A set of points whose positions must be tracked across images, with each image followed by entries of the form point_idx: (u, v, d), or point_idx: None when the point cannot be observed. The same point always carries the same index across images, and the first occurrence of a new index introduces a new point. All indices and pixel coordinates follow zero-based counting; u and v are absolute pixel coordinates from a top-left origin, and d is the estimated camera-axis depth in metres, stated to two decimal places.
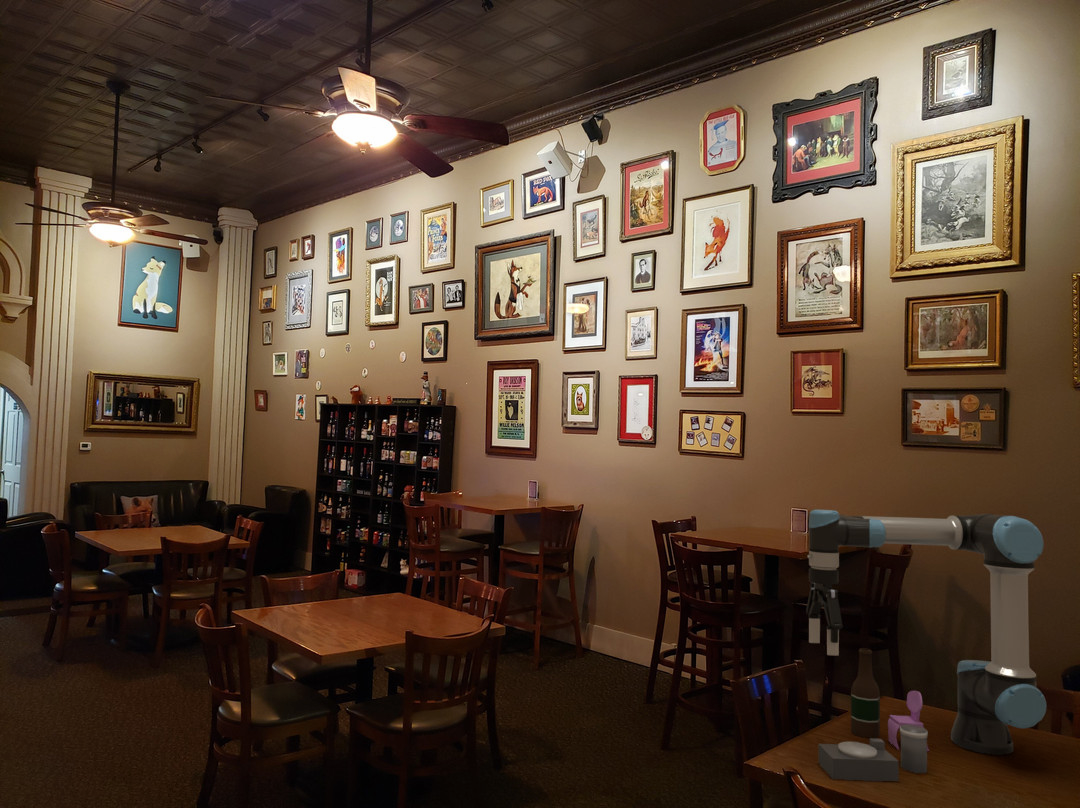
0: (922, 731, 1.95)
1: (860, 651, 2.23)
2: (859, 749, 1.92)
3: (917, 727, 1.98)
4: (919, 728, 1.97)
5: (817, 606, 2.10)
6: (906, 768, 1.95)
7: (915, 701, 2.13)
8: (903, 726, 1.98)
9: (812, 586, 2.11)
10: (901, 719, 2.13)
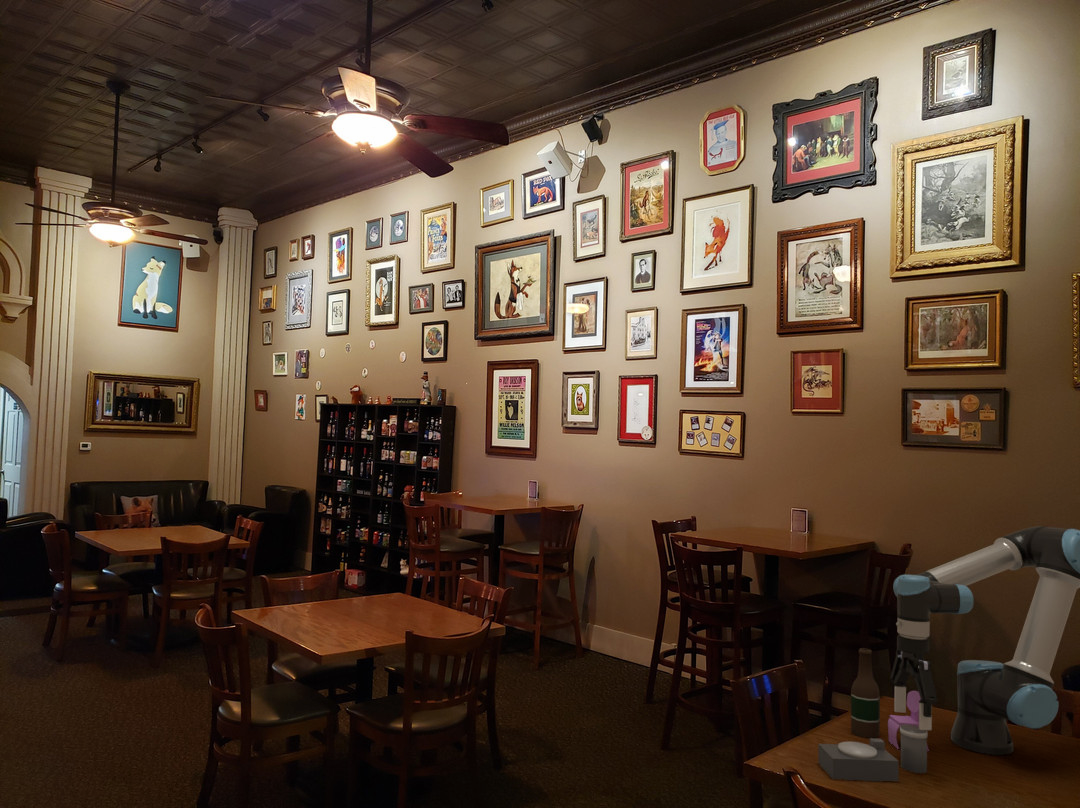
0: (922, 731, 1.95)
1: (860, 651, 2.23)
2: (859, 749, 1.92)
3: (917, 727, 1.98)
4: None
5: (904, 675, 2.02)
6: (906, 768, 1.95)
7: (915, 701, 2.13)
8: (903, 726, 1.98)
9: (898, 653, 2.04)
10: (901, 719, 2.13)
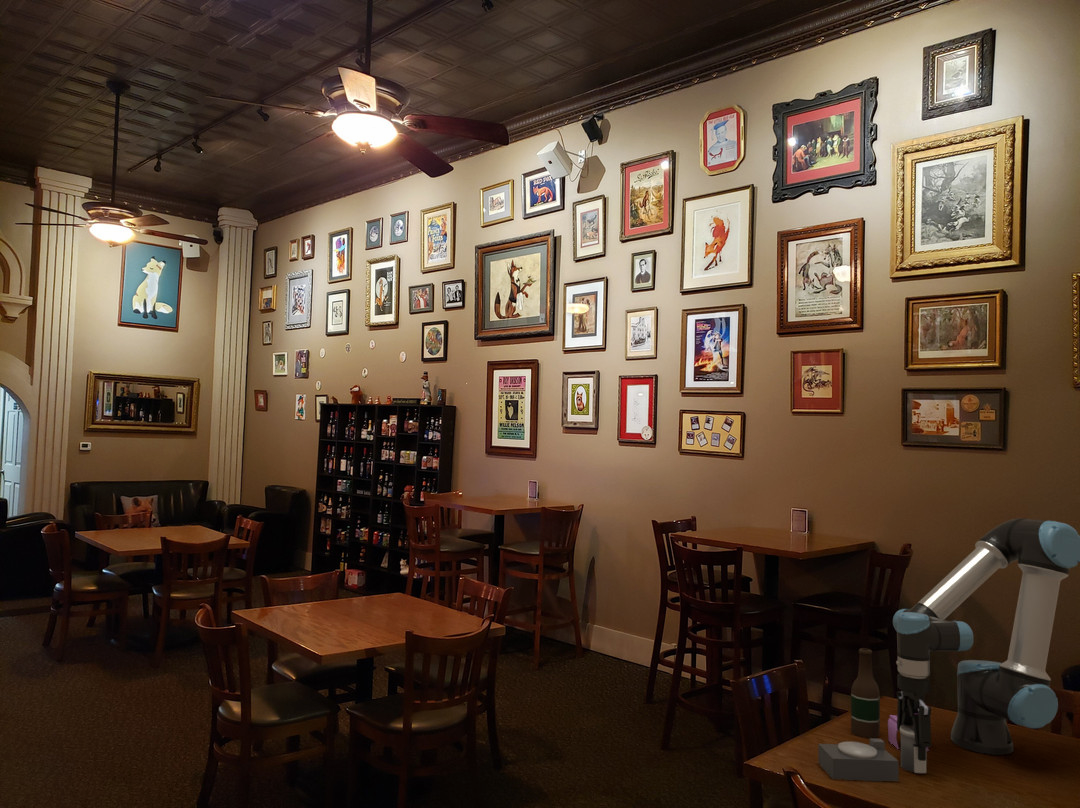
0: None
1: (860, 651, 2.23)
2: (859, 749, 1.92)
3: None
4: None
5: (908, 719, 2.00)
6: (906, 768, 1.95)
7: None
8: (903, 726, 1.98)
9: (899, 695, 2.03)
10: None
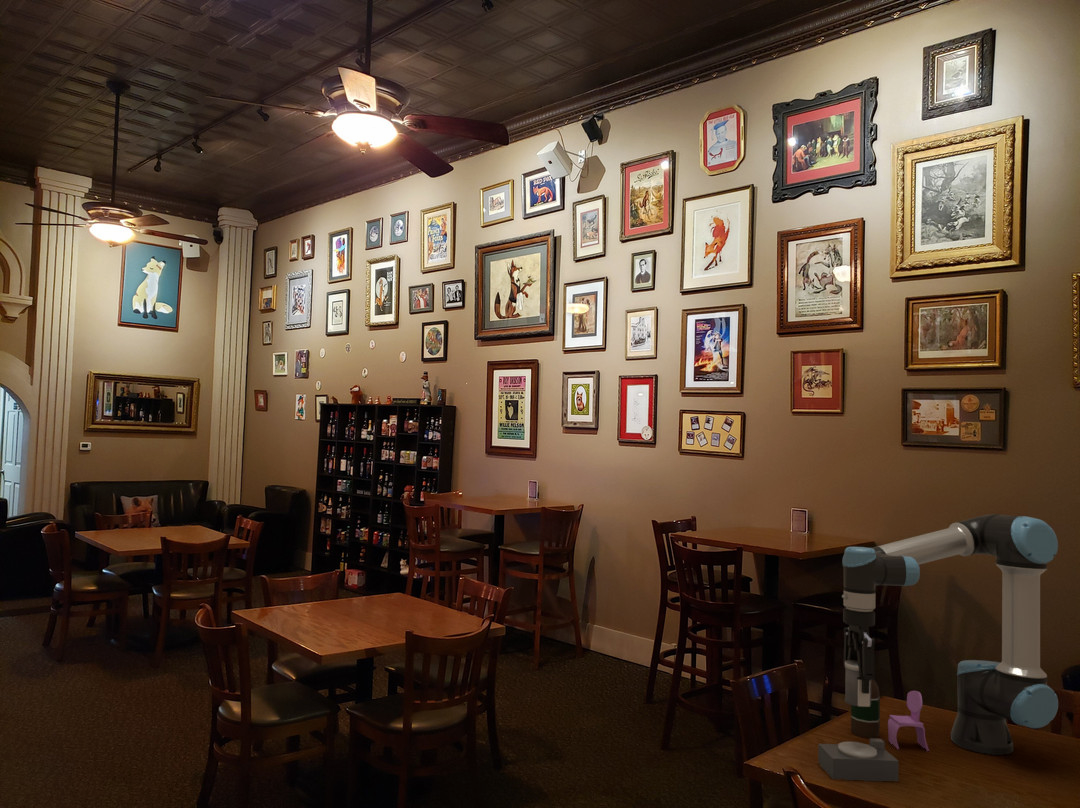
0: None
1: None
2: (859, 749, 1.92)
3: None
4: None
5: (854, 654, 1.97)
6: (850, 702, 1.92)
7: (915, 701, 2.13)
8: (848, 660, 1.96)
9: (846, 631, 2.01)
10: (901, 719, 2.13)
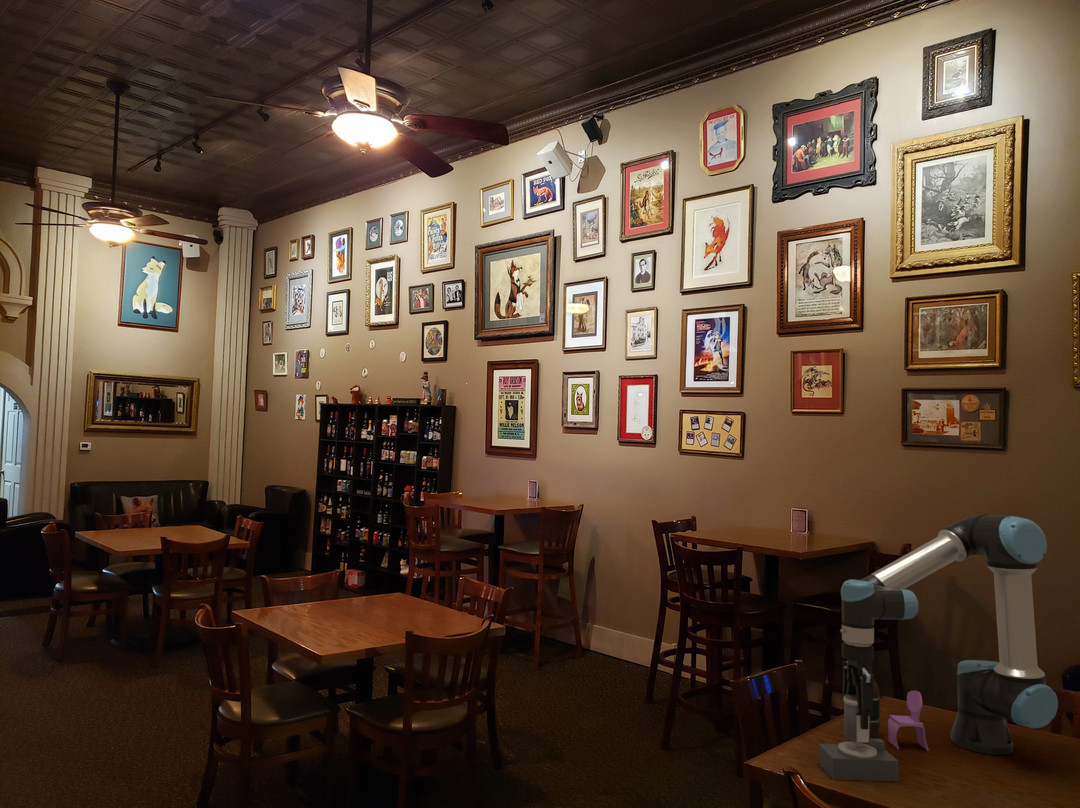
0: None
1: None
2: (859, 749, 1.92)
3: None
4: None
5: (853, 688, 1.96)
6: (849, 737, 1.92)
7: (915, 701, 2.13)
8: (847, 695, 1.95)
9: (845, 665, 2.00)
10: (901, 719, 2.13)
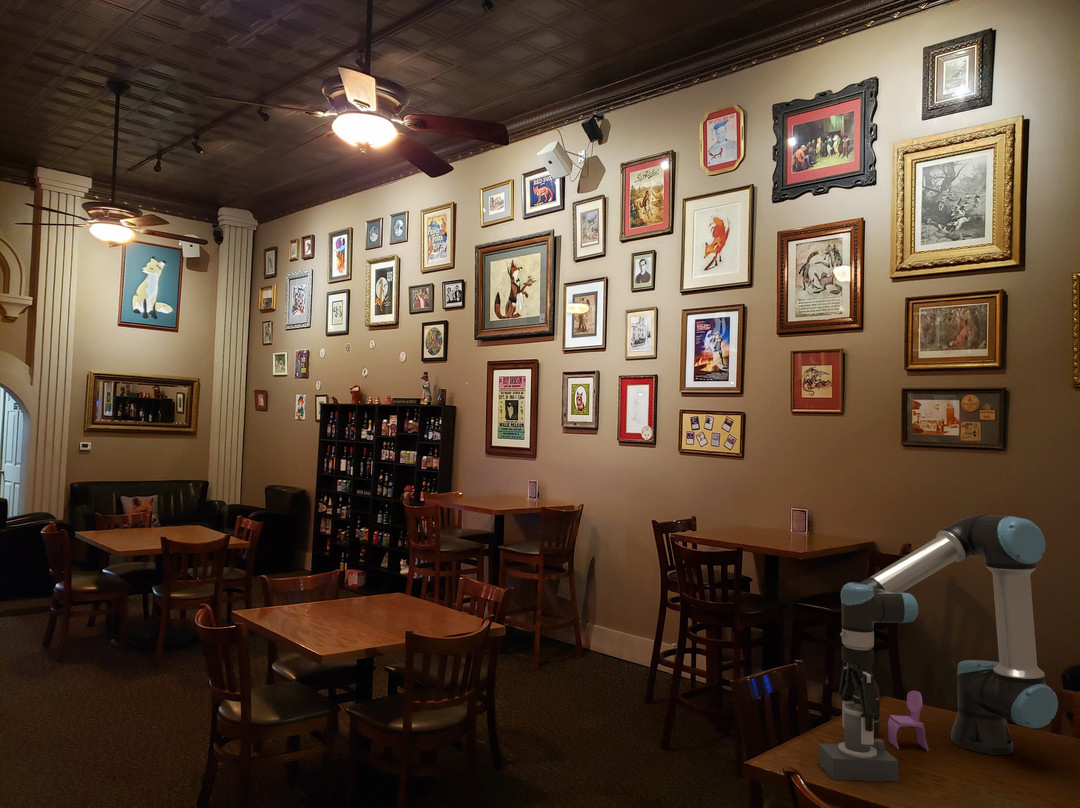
0: None
1: None
2: None
3: None
4: None
5: (851, 688, 1.98)
6: (849, 747, 1.91)
7: (915, 701, 2.13)
8: (847, 705, 1.95)
9: (844, 665, 2.00)
10: (901, 719, 2.13)
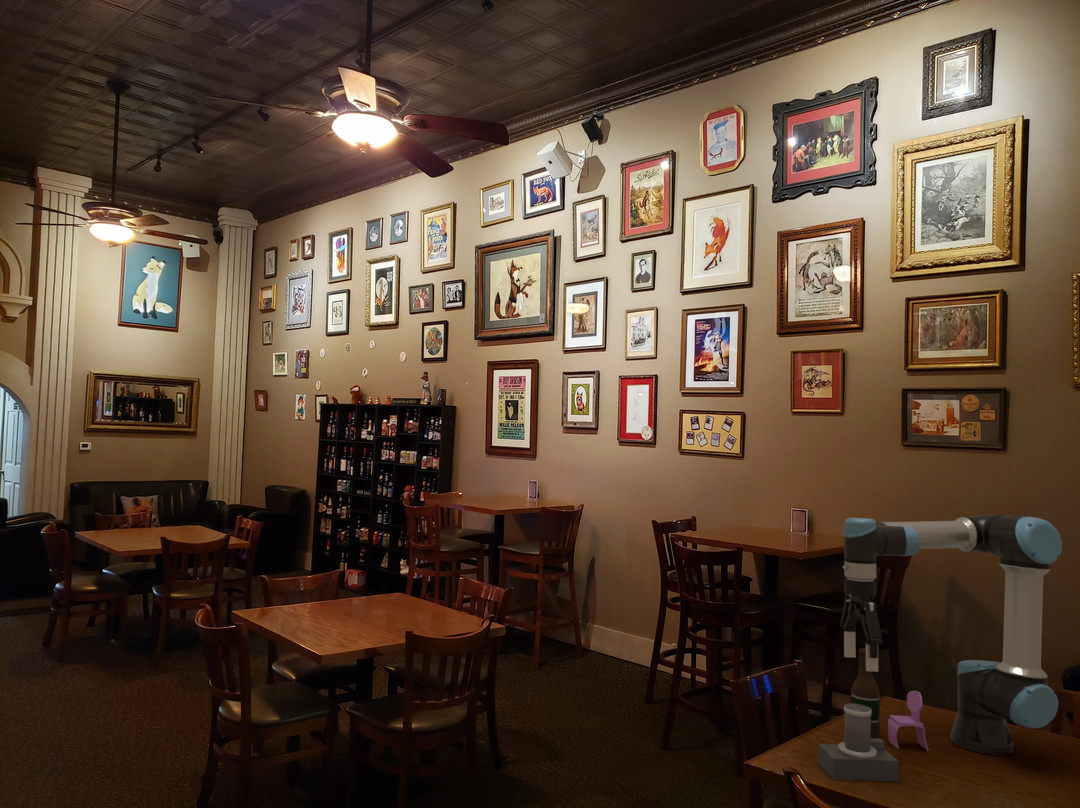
0: (866, 709, 1.92)
1: (860, 651, 2.23)
2: None
3: (861, 706, 1.95)
4: (863, 707, 1.94)
5: (853, 619, 2.00)
6: (849, 747, 1.91)
7: (915, 701, 2.13)
8: (847, 705, 1.95)
9: (847, 598, 2.02)
10: (901, 719, 2.13)
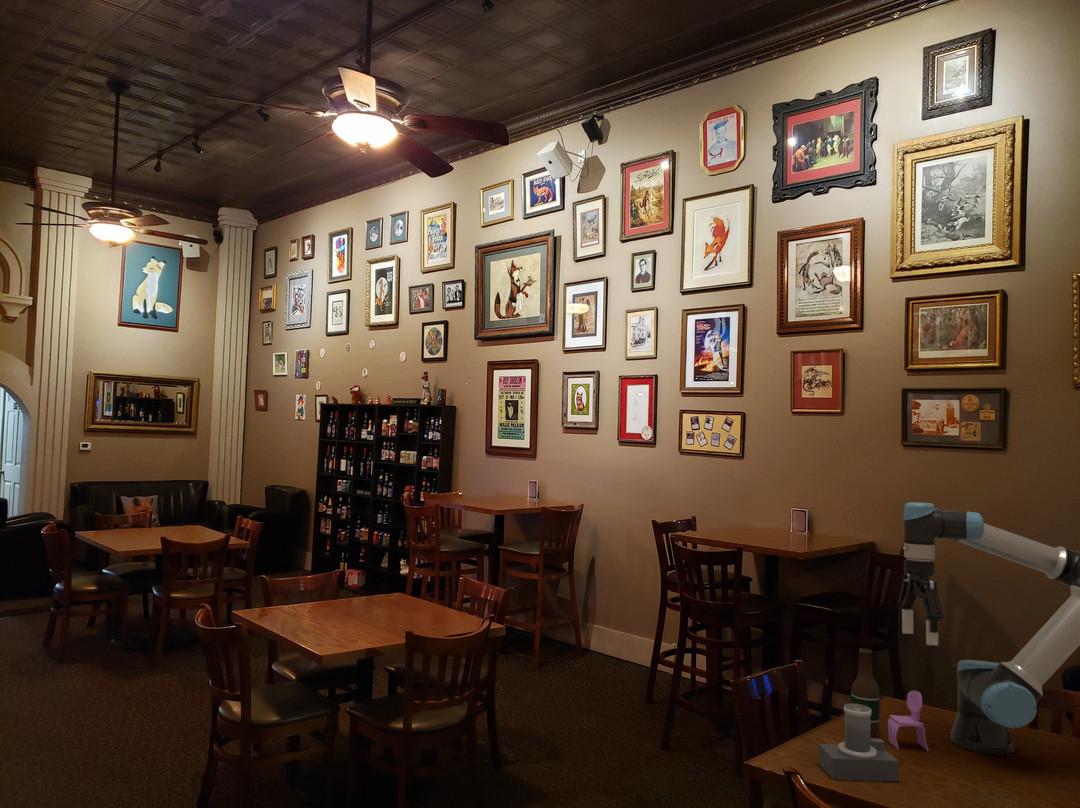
0: (865, 709, 1.92)
1: (860, 651, 2.23)
2: None
3: (861, 706, 1.95)
4: (863, 707, 1.94)
5: (911, 598, 2.13)
6: (849, 747, 1.91)
7: (915, 701, 2.13)
8: (847, 705, 1.95)
9: (905, 578, 2.14)
10: (901, 719, 2.13)
